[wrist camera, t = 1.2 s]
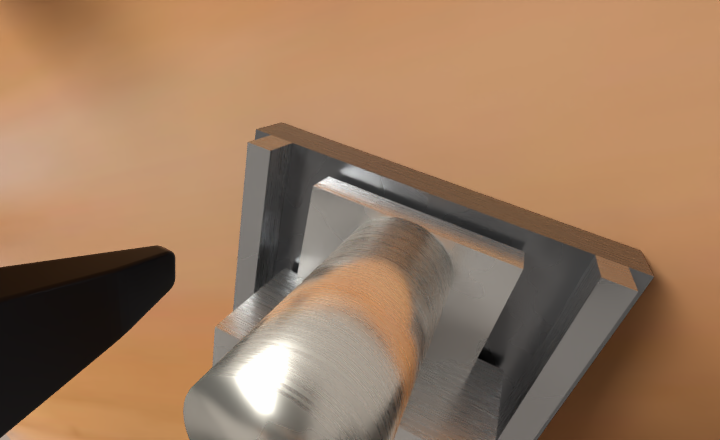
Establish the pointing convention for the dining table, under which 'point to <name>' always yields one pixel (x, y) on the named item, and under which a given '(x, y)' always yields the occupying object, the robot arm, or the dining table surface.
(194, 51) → the dining table surface
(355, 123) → the dining table surface
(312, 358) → the ram
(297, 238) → the press base
